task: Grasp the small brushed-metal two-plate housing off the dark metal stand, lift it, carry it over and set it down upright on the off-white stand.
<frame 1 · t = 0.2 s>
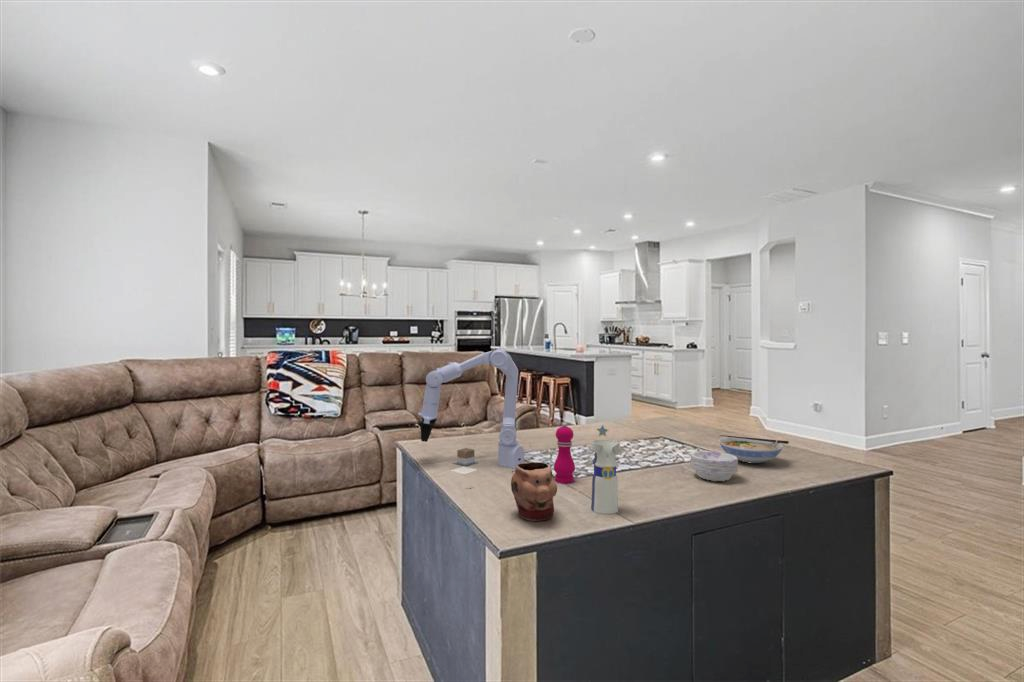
hand: (425, 438, 186), 11 cm above the counter, tool pointing down, fingers open, 7 cm apart
ramen bowl: (749, 462, 195), on the counter
stand b: (464, 473, 178), on the counter
paper bowls: (713, 478, 174), on the counter
decorative planter: (532, 514, 140), on the counter
housing: (465, 463, 187), point 1 cm above the counter, touching stand a
white figurine with star: (605, 509, 143), on the counter
stand a: (465, 466, 187), on the counter
pepper mill: (564, 481, 170), on the counter
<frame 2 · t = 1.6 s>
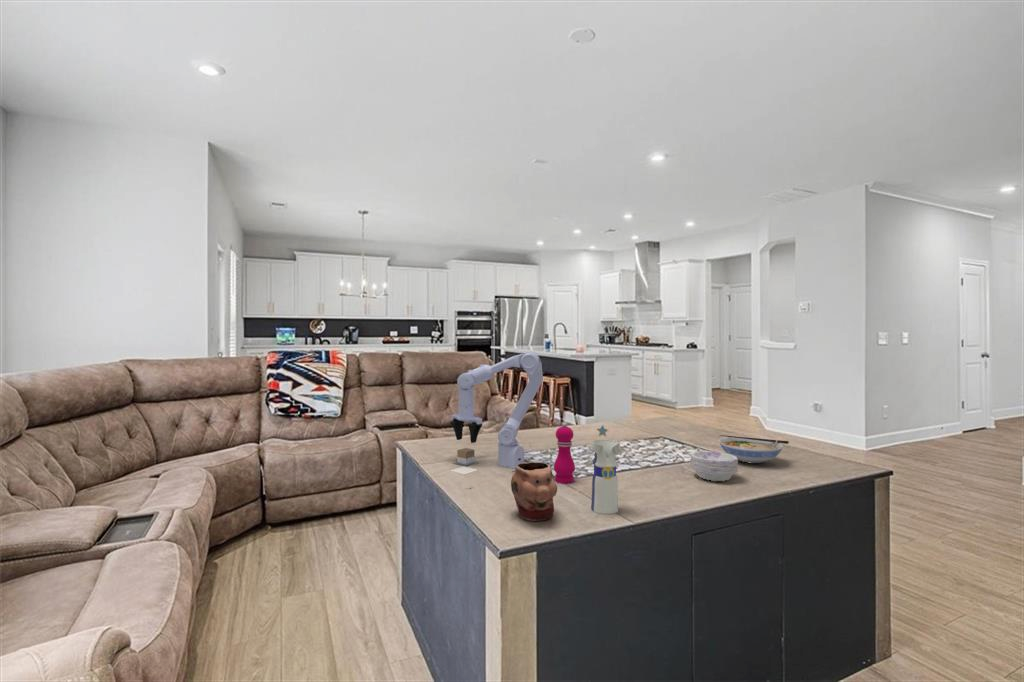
hand: (466, 441, 188), 9 cm above the counter, tool pointing down, fingers open, 7 cm apart
nothing on the counter moved.
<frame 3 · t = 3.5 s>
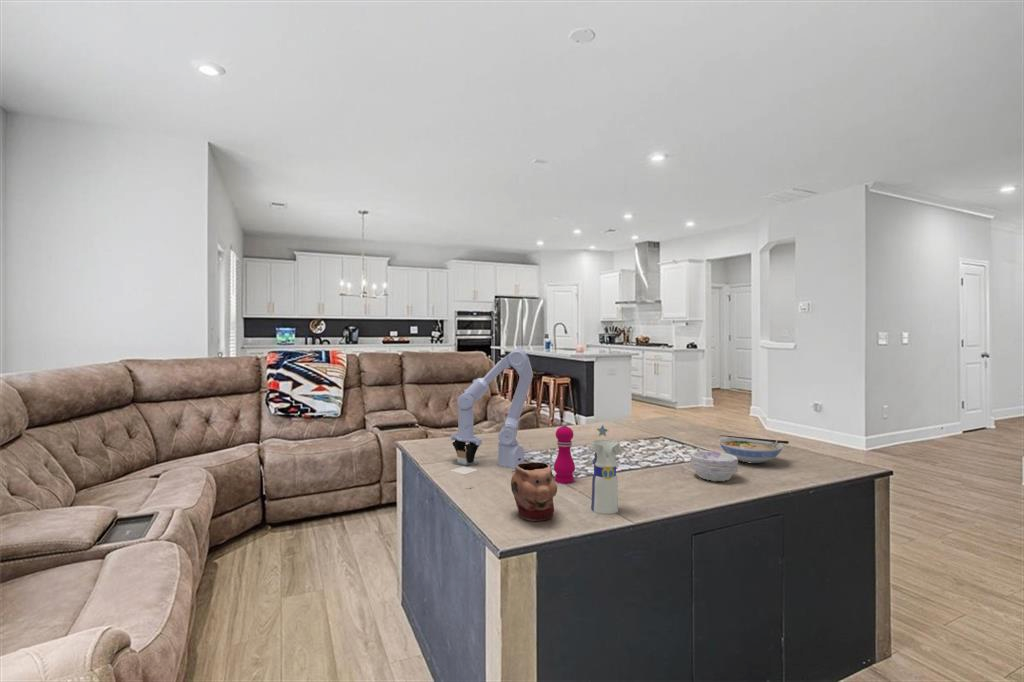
hand: (465, 461, 187), 2 cm above the counter, tool pointing down, fingers closed on housing, 4 cm apart
housing: (465, 463, 187), point 1 cm above the counter, touching gripper, stand a
everything else where it was.
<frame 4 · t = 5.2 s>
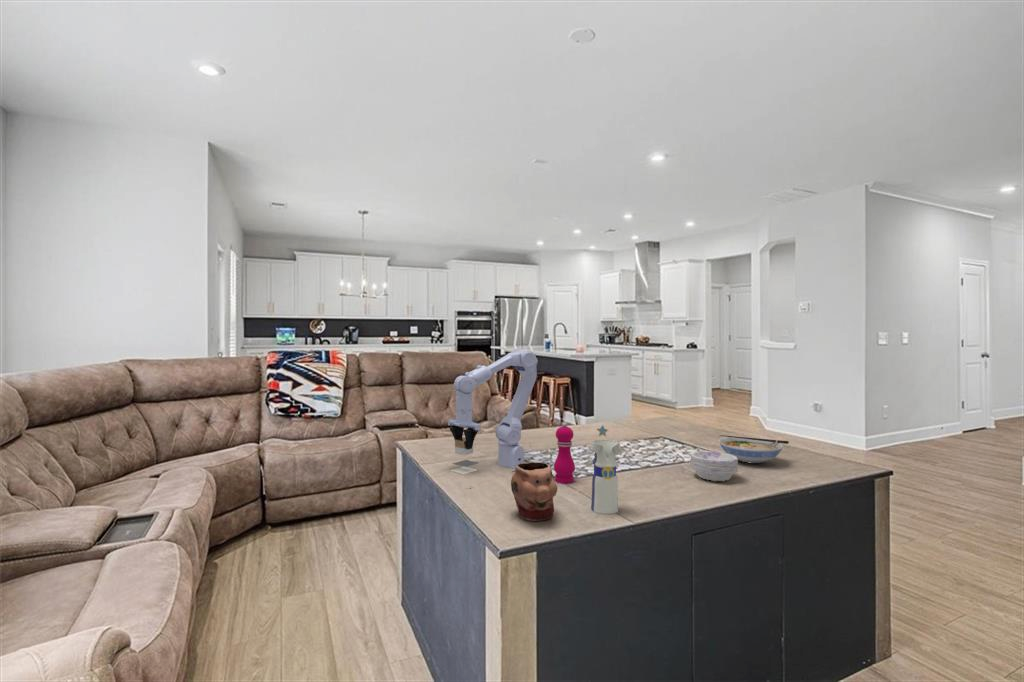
hand: (464, 447, 178), 9 cm above the counter, tool pointing down, fingers closed on housing, 4 cm apart
housing: (464, 453, 178), point 7 cm above the counter, touching gripper
everything else where it was.
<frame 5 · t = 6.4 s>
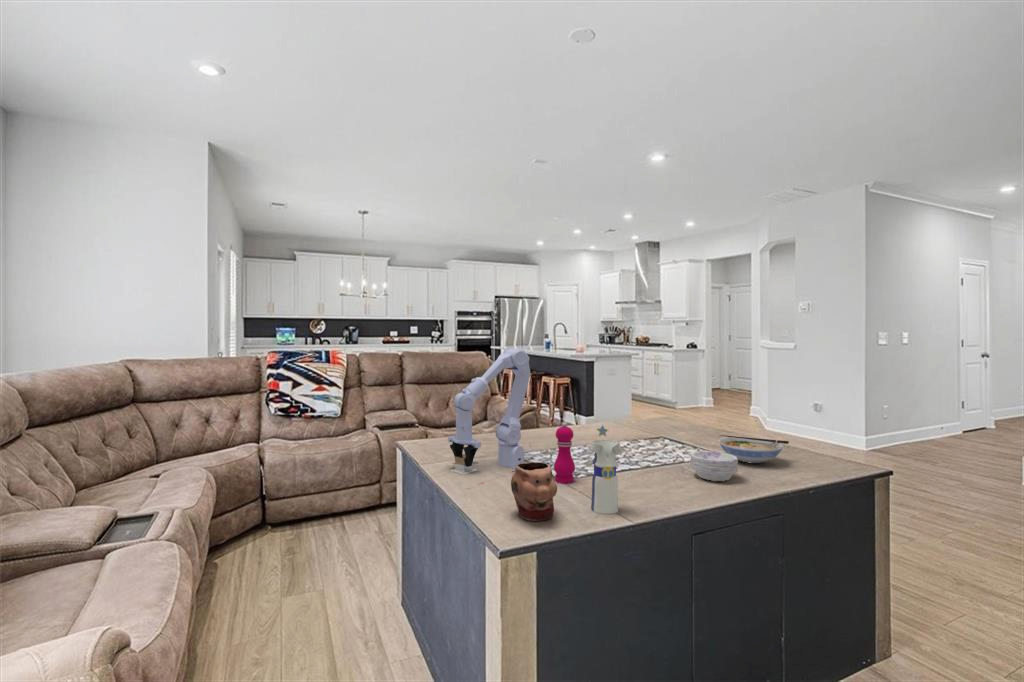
hand: (464, 464, 178), 3 cm above the counter, tool pointing down, fingers closed on housing, 4 cm apart
housing: (464, 470, 178), point 1 cm above the counter, touching gripper, stand b
everything else where it was.
when the fingers open (3 cm above the counter, at t = 7.1 s): housing stays where it is, resting on stand b.
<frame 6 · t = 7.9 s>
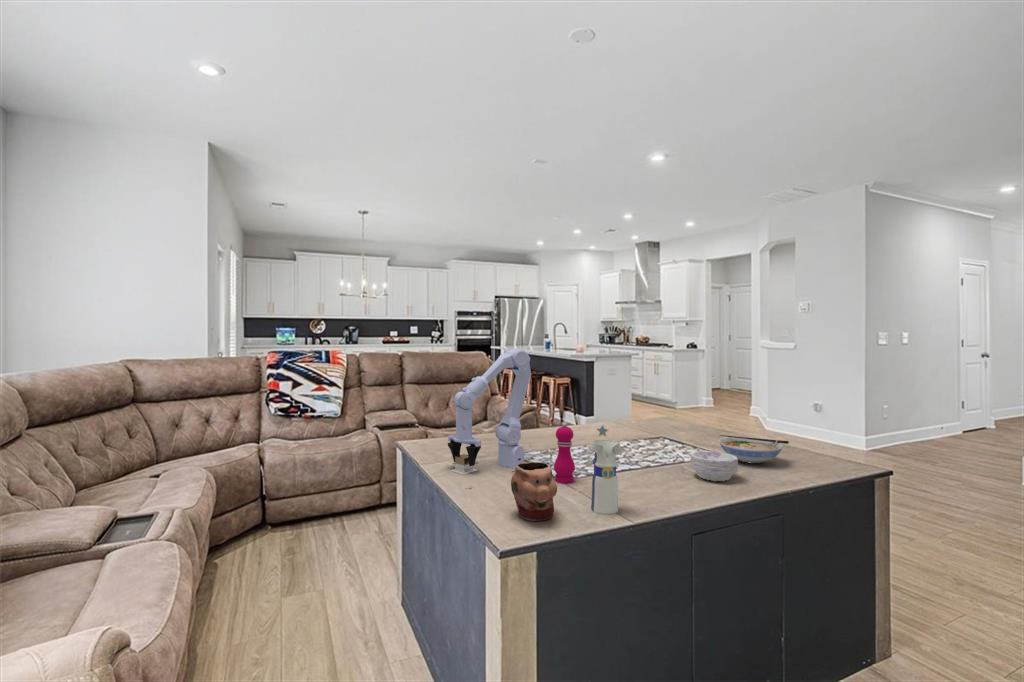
hand: (464, 463, 178), 4 cm above the counter, tool pointing down, fingers open, 7 cm apart
housing: (464, 470, 178), point 1 cm above the counter, touching stand b
everything else where it was.
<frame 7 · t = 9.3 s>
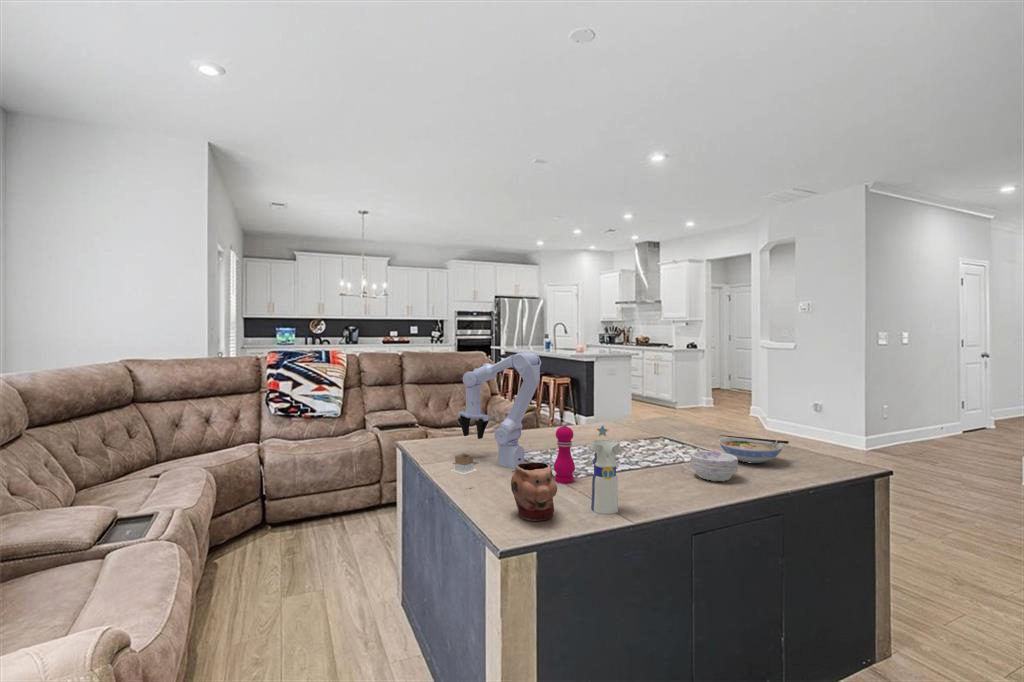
hand: (473, 437, 194), 9 cm above the counter, tool pointing down, fingers open, 7 cm apart
nothing on the counter moved.
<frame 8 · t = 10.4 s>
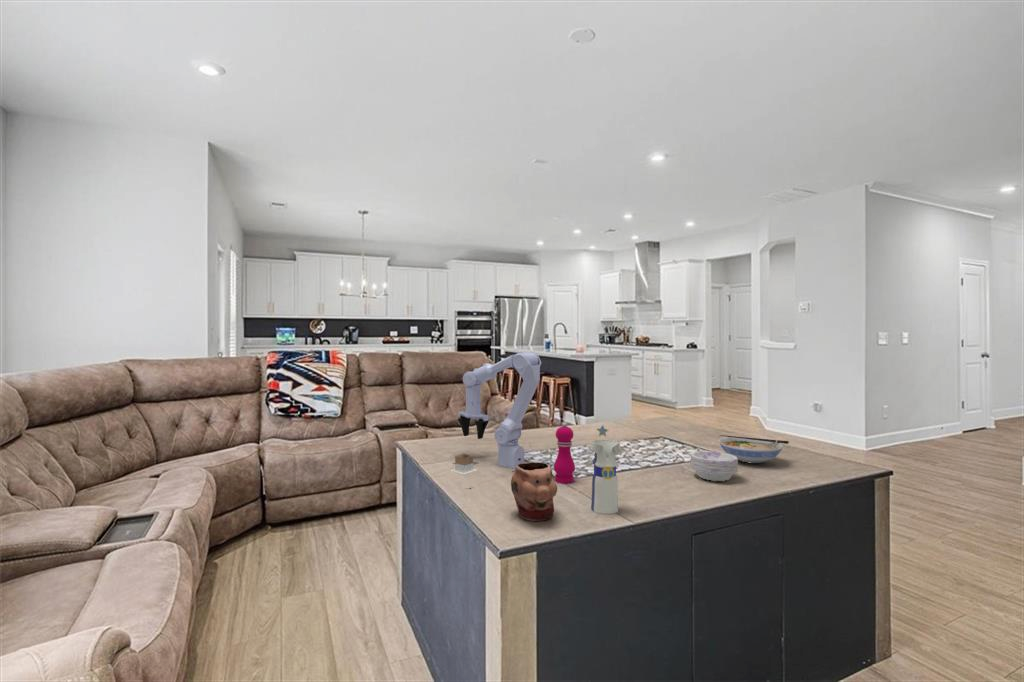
hand: (473, 437, 194), 9 cm above the counter, tool pointing down, fingers open, 7 cm apart
nothing on the counter moved.
at the end: housing 0.1 cm off-centre on the stand b, point 1.2 cm above the stand b's base; housing tilted 0°; the gripper is holding nothing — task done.
